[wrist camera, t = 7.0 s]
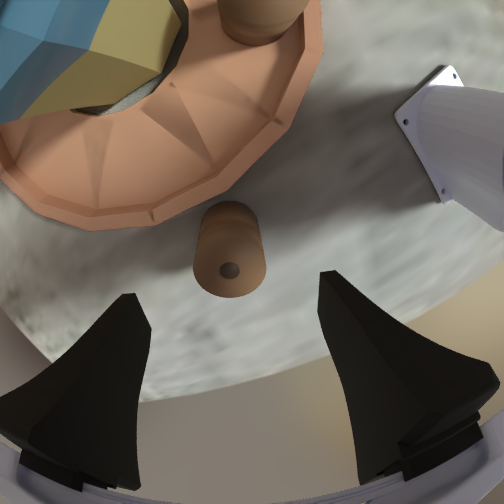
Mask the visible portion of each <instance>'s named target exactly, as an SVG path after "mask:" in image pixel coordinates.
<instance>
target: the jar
mask: <svg viewBox="0 0 504 504" xmlns="http://www.w3.org/2000/svg"><path fill="white" fill-rule="evenodd" d="M181 25H182V23H181V21H180V19H179V17H178V16H177V14H176V12H175V11H174V9H173V7H172V6H171V4H170V2H169V1H168V0H0V125H1V124H5V123H8V122H12V121H15V120H19V119H23V118H27V117H32V116H36V115H41V114H46V113H51V112H56V111H62V110H68V109H75V108H82V107H90V106H99V105H109V104H115V103H117V102H118V101H119V100H121V99H122V98H124V97H125V96H127V95H128V94H130V93H131V92H132V91H134V90H135V89H137V88H139V87H140V86H142V85H143V84H145V83H146V82H148V81H150V80H151V79H153V78H155V77H156V76H158V75H160V74H161V73H162V71H163V68H164V66H165V63H166V60H167V58H168V55H169V53H170V50H171V48H172V45H173V43H174V41H175V38H176V36H177V34H178V32H179V29H180V27H181Z"/></svg>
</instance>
